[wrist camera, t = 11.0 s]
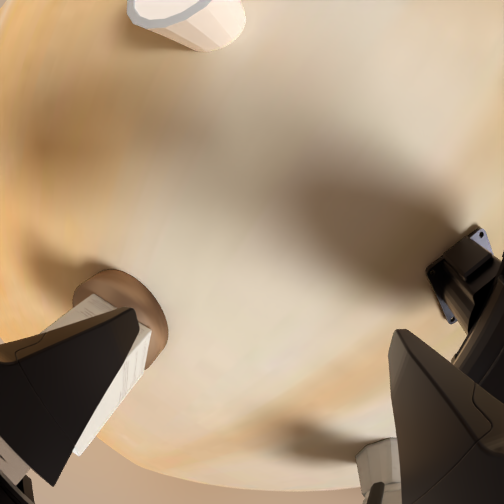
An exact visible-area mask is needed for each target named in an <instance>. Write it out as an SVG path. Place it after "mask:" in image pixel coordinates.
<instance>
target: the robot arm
mask: <svg viewBox="0 0 504 504" xmlns="http://www.w3.org/2000/svg"><path fill="white" fill-rule="evenodd" d="M480 232H481V236H479V234H480ZM502 257H503V259H502V261H500V260H499V259H498V258H496V257H495V256H494V255H493V252H492V249H491V246H490V243H489V240H488V237H487V234H486V232H485V230H484V229H482V228H477V229H476V230H475V231H474V232H472V233H471V234H470V235H469V236H468V237H464V238H463V239H462V240H461V241H459V242H458V243H457V244H456V245H454V246H453V247H452V248H451V249H449V250H448V251H447V252H445V253H444V255H443V256H442V257H441V258H439V259H438V260H437V261H435V262H434V263H433V264H431V265H430V266H429V267H428V268H427V269H426V276H427V278H428V280H429V282H430V284H431V286H432V288H433V290H434V292H435V294H436V296H437V299H438V301H439V303H440V305H441V308H442V310H443V312H444V315H445V317H446V319H447V321H448V323H449V324H453V323H455V322H456V321H458V322H459V323H460V325H461V326H462V328H463V330H464V331H465V333H466V334H467V337H466V339H465V340H464V342H463V344H462V346H461V347H460V349H459V351H458V352H457V354H455V355H454V356H453V358H452V360H451V363H450V362H449V361H448V360H447V359H445V358H444V357H443V356H441V355H440V354H439V353H438V352H436V351H435V350H434V349H432V348H431V347H430V346H429V345H427V344H426V343H425V342H423V341H422V340H421V339H419V338H418V337H417V336H415V335H414V334H413V333H411V332H410V331H409V330H407V329H396V330H395V331H394V333H393V337H392V341H391V344H390V348H389V353H388V359H389V372H390V389H391V400H392V407H393V413H394V420H395V427H396V435H397V443H398V453H399V464H400V477H401V498H402V504H504V252H503V255H502ZM432 270H434V271H433V273H432V274H430V272H431V271H432ZM452 317H453V318H452ZM451 318H452V319H451ZM139 330H140V326H139V322H138V319H137V315H136V311H135V310H134V308H131V307H126V306H125V307H121V308H118V309H115V310H112V311H109V312H106V313H103V314H100V315H97V316H94V317H91V318H87V319H84V320H81V321H78V322H75V323H72V324H69V325H66V326H63V327H60V328H57V329H54V330H51V331H48V332H44V333H41V334H38V335H35V336H31V337H28V338H24V339H20V340H17V341H13V342H9V343H5V344H0V504H35V503H34V497H33V490H32V482H31V479H30V478H29V477H28V476H27V475H26V473H27V472H28V471H29V470H30V468H31V469H32V470H33V471H34V472H36V473H37V474H38V475H39V476H40V477H42V478H43V479H44V480H45V481H46V482H47V483H49V484H50V485H51V486H53V487H54V485H55V484H56V482H57V480H58V478H59V476H60V474H61V472H62V470H63V468H64V466H65V464H66V463H67V461H68V459H69V457H70V455H71V453H72V451H73V450H74V448H75V445H76V444H77V442H78V440H79V438H80V436H81V435H82V433H83V431H84V429H85V428H86V426H87V424H88V422H89V420H90V419H91V417H92V415H93V414H94V412H95V410H96V408H97V407H98V405H99V403H100V402H101V400H102V398H103V397H104V395H105V393H106V391H107V390H108V388H109V387H110V385H111V383H112V382H113V380H114V378H115V377H116V375H117V373H118V372H119V370H120V369H121V367H122V365H123V363H124V362H125V360H126V358H127V356H128V354H129V352H130V350H131V348H132V345H133V343H134V341H135V339H136V337H137V335H138V334H139Z"/></svg>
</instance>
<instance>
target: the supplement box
mask: <svg viewBox="0 0 504 504" xmlns="http://www.w3.org/2000/svg"><path fill="white" fill-rule="evenodd" d="M115 309H117V308H116V307H114V306H112V305H111V304H109V303H108V302H106V301H105V300H103V299H102V298H100V297H99V296H97V295H96V294H92V295H90V296H89V297H87V298H86V299H85V300H83V301H82V302H81V303H79V304H78V305H76V306H75V307H74V308H72V309H71V310H70V311H68V312H67V313H66V314H64V315H63V316H62V317H60V318H59V319H58V320H56V321H55V322H54V323H53V324H51V325H50V326H49V327H47V328H46V329H45V330H44V331H42V332H41V333H44V332H48V331H51V330H54V329H57V328H60V327H63V326H66V325H69V324H72V323H75V322H78V321H81V320H84V319H87V318H91V317H94V316H97V315H100V314H103V313H106V312H109V311H112V310H115ZM139 326H140V330H139V334H138V335H137V337H136V339H135V341H134V343H133V345H132V348H131V350H130V352H129V354H128V356H127V358H126V360H125V362H124V363H123V365H122V367H121V369H120V370H119V372H118V373H117V375H116V377H115V378H114V380H113V382H112V383H111V385H110V387H109V388H108V390H107V391H106V393H105V395H104V397H103V398H102V400H101V402H100V403H99V405H98V407H97V408H96V410H95V412H94V414H93V415H92V417H91V419H90V420H89V422H88V424H87V426H86V428H85V429H84V431H83V433H82V435H81V436H80V438H79V440H78V442H77V444H76V445H75V448H74V450H73V451H72V452H73V453H75V454H77V455H78V456H80V455H81V454H82V453H83V452H84V450H85V449H86V448H87V447H88V445H89V444H90V443H91V441H92V440H93V439H94V437H95V436H96V435H97V434H98V432H99V431H100V430H101V428H102V427H103V426H104V424H105V423H106V422H107V420H108V419H109V418H110V416H111V415H112V414H113V412H114V411H115V410H116V408H117V407H118V406H119V404H120V403H121V402H122V401H123V399H124V398H125V397H126V395H127V394H128V393H129V391H130V390H131V389H132V388H133V386H134V385H135V384H136V383H137V381H138V380H139V379H140V377H141V376H142V375H143V373H144V368H145V363H146V357H147V352H148V347H149V342H150V337H151V332H152V331H151V330H150V329H149V328H147V327H146V326H144V325H142V324H141V323H139ZM41 333H40V334H41Z"/></svg>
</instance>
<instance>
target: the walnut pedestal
mask: <svg viewBox="0 0 504 504" xmlns="http://www.w3.org/2000/svg"><path fill="white" fill-rule="evenodd" d="M92 294H96V295H97V296H99V297H100V298H102V299H103V300H105V301H106V302H108V303H109V304H111V305H112V306H114V307H116V308H117V309H118V308H121V307H125V306H126V307H131V308H134V310H135V311H136V315H137V319H138V322H139V323H141V324H142V325H144V326H146V327H147V328H149V329H150V330H151V331H152V332H151V337H150V342H149V347H148V352H147V357H146V363H145V368H144V370H146V369H147V368H149V366H150V365H151V364H152V363H153V361H154V360H155V359H156V358H157V356H158V355H159V354H160V352H161V351H162V350H163V349H164V347H165V345H166V343H167V340H168V326H167V321H166V318H165V315H164V313H163V311H162V309H161V307H160V305H159V303H158V302H157V300H156V299H155V297H154V296H153V295H152V293H151V292H150V291H149V290H148V289H147V288H146V287H145V286H144V285H143V284H142V283H141V282H139V281H138V280H137V279H135V278H134V277H132V276H131V275H129V274H127V273H125V272H122V271H119V270H104V271H101V272H99V273H98V274H96V275H95V276H93V277H91V278H90V279H88V280H87V281H85V282H84V283H82V284H81V285H79V286H78V287H77V289H76V290H75V293H74V296H73V308H74V307H75V306H76V305H78V304H79V303H81V302H82V301H83V300H85V299H86V298H87V297H89V296H90V295H92Z"/></svg>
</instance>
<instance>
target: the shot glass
mask: <svg viewBox="0 0 504 504" xmlns="http://www.w3.org/2000/svg"><path fill="white" fill-rule="evenodd" d="M127 15H128V16H129V18H130V20H131V21H132V23H133V24H135V25H138V26H140V27H143V28H145V29H148V30H150V31H153V32H155V33H157V34H160V35H162V36H164V37H167V38H169V39H171V40H173V41H176V42H178V43H180V44H182V45H184V46H186V47H188V48H191V49H193V50H195V51H200V52H211V51H214V50H218V49H222V48H224V47H225V46H227V45H229V44H230V43H232V42H234V41H235V40H236V38H237V37H238V36H239V35H240V34H241V33H242V32H243V29H244V26H245V23H246V17H245V11H244V8H243V6H242V3H241V0H127Z"/></svg>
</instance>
